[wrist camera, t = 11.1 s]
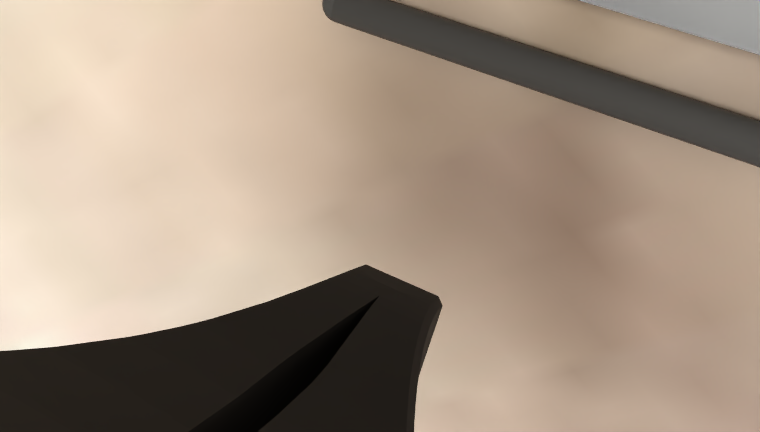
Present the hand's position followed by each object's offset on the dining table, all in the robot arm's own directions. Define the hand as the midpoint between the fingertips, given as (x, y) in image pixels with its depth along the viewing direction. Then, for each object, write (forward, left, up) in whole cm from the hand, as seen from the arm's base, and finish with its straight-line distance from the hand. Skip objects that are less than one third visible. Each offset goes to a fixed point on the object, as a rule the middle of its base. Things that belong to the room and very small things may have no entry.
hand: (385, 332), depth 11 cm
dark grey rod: (-4, -3, -10) cm, 11 cm away
